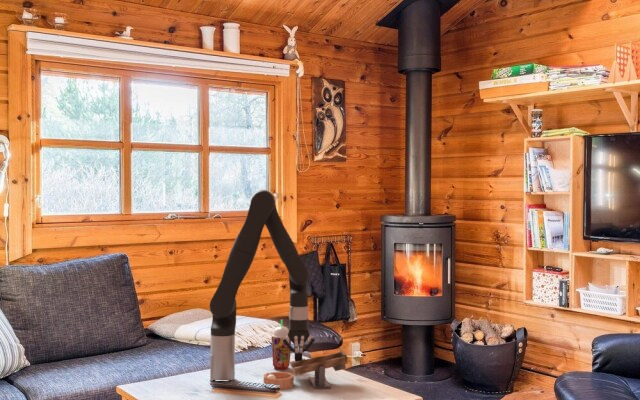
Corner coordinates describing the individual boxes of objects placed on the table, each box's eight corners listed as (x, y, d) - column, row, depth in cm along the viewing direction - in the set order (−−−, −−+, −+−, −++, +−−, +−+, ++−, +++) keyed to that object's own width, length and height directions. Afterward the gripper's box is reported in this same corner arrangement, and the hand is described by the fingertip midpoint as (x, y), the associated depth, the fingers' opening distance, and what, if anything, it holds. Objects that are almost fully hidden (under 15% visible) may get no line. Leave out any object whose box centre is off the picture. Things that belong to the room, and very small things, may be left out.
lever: (296, 380, 265) (293, 366, 265) (291, 369, 282) (288, 355, 281) (348, 368, 268) (346, 354, 268) (340, 358, 285) (338, 345, 284)
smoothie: (282, 372, 288) (282, 322, 288) (266, 368, 293) (267, 319, 293) (295, 368, 294) (296, 319, 294) (280, 365, 300) (280, 317, 299)
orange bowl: (264, 389, 262) (264, 379, 262) (262, 381, 273) (262, 372, 273) (294, 388, 264) (294, 379, 264) (291, 380, 275) (291, 371, 275)
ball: (278, 379, 267) (272, 387, 266) (277, 377, 270) (271, 384, 270) (271, 373, 266) (265, 381, 266) (270, 371, 270) (264, 378, 269)
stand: (314, 389, 263) (314, 367, 263) (309, 379, 277) (309, 358, 277) (330, 388, 264) (330, 366, 264) (324, 378, 278) (324, 358, 278)
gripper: (282, 319, 273) (282, 365, 273) (317, 318, 275) (316, 364, 275) (280, 316, 281) (280, 360, 281) (314, 315, 283) (314, 359, 283)
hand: (298, 362), depth 278 cm, fingers closed
